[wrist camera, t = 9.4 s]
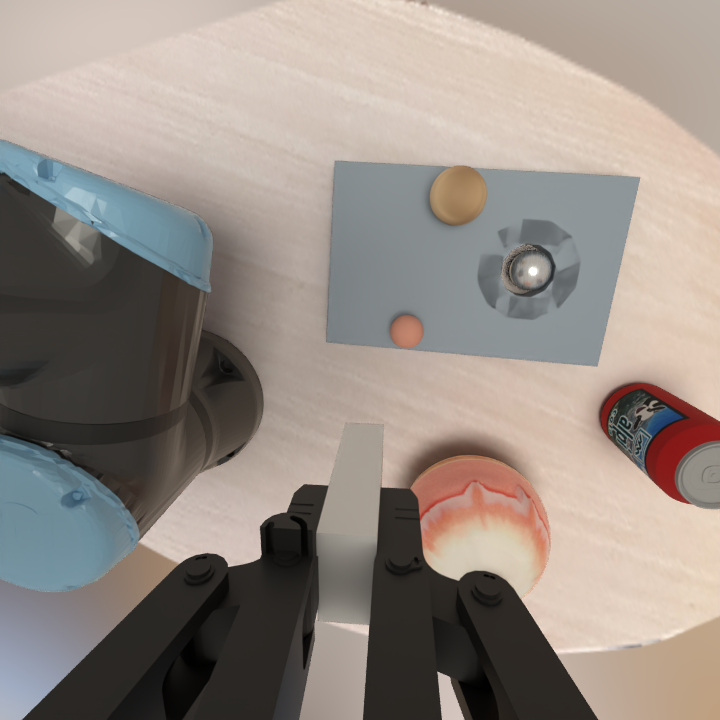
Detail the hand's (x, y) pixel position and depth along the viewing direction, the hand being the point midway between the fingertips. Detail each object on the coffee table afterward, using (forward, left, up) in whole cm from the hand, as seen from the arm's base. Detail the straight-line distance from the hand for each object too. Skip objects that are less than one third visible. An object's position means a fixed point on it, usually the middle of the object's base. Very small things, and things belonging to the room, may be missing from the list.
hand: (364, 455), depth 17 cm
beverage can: (+25, -6, -27) cm, 37 cm away
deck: (+7, +7, -27) cm, 28 cm away
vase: (+10, -17, -27) cm, 33 cm away
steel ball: (+12, +7, -25) cm, 28 cm away
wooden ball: (+5, +12, -22) cm, 25 cm away
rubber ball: (+2, +1, -23) cm, 23 cm away
